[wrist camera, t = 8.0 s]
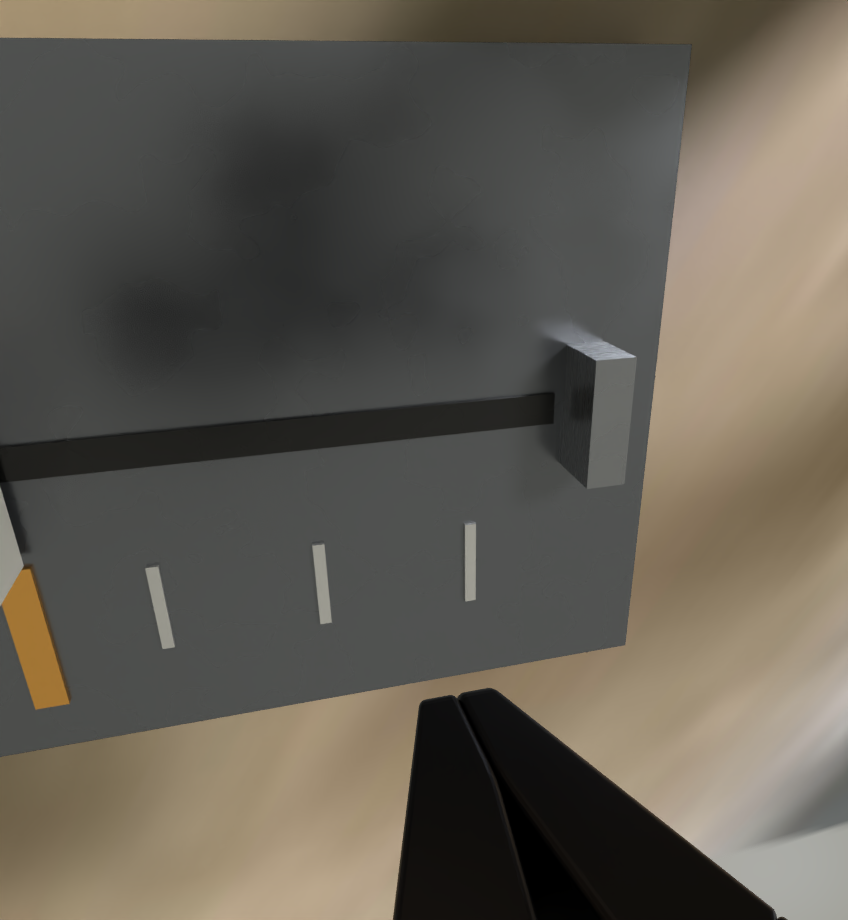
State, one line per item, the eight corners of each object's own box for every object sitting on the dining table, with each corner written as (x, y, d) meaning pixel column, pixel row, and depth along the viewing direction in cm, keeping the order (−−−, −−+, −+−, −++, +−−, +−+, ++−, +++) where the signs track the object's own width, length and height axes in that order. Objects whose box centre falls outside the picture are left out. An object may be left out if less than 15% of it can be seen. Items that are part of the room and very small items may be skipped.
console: (644, 58, 17) (738, 30, 13) (596, 607, 23) (652, 679, 20) (-472, 52, 12) (-732, 9, 9) (-154, 732, 19) (-240, 850, 15)
